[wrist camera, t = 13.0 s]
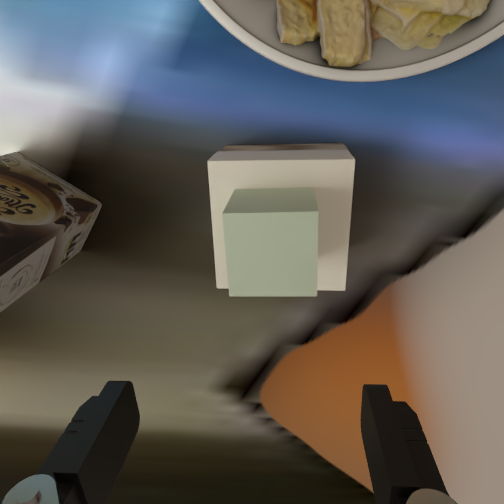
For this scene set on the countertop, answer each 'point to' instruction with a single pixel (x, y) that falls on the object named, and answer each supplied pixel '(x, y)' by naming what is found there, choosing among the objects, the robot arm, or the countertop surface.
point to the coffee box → (37, 224)
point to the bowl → (361, 34)
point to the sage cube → (271, 242)
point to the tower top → (290, 176)
